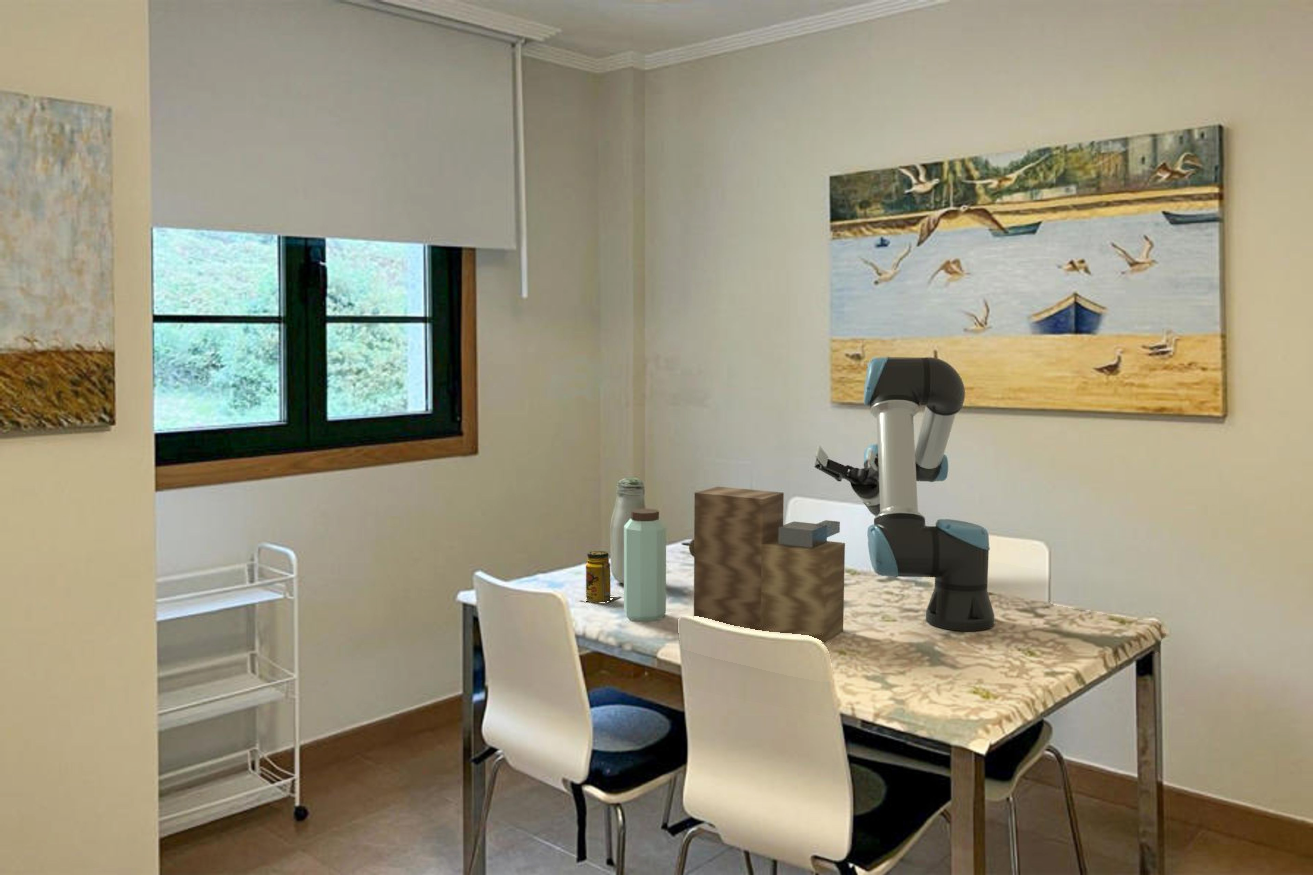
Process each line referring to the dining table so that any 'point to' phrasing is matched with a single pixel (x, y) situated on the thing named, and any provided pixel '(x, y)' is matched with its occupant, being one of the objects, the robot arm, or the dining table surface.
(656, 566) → the water bottle
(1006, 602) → the dining table surface
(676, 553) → the dining table surface
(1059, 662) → the dining table surface
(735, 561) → the stepped stand
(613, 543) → the glass bottle
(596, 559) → the condiment
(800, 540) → the grey t-shaped block
